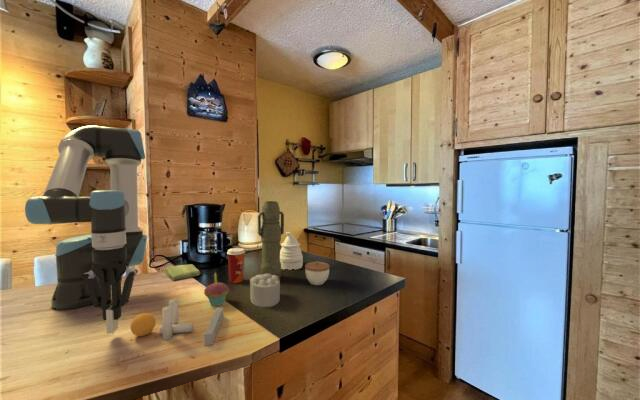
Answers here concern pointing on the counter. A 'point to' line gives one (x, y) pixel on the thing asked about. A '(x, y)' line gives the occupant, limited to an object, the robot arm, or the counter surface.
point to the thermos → (271, 237)
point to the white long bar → (213, 326)
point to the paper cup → (236, 264)
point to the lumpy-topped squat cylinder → (265, 290)
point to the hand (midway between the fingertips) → (112, 330)
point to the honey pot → (291, 253)
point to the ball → (143, 324)
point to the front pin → (180, 328)
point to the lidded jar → (317, 272)
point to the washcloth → (182, 272)
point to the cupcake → (216, 292)
